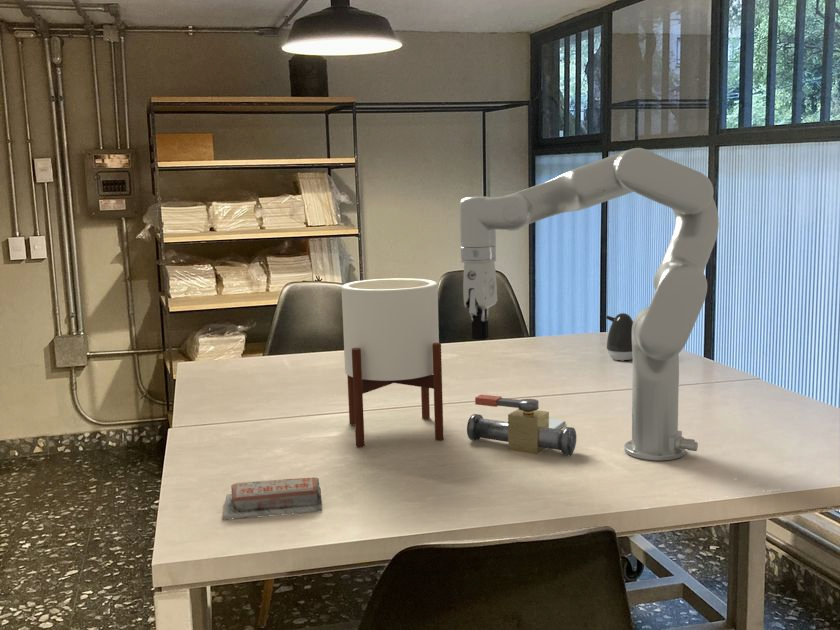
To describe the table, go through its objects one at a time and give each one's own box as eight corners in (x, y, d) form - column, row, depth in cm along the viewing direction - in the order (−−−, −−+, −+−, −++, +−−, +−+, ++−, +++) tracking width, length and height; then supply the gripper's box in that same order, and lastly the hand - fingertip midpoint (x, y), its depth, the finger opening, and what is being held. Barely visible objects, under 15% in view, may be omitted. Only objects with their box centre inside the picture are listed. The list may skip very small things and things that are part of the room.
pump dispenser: (604, 356, 282) (604, 310, 279) (637, 356, 280) (637, 310, 278) (607, 362, 272) (607, 315, 269) (640, 362, 270) (641, 315, 268)
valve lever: (541, 406, 188) (541, 399, 188) (534, 411, 184) (534, 404, 184) (482, 400, 195) (482, 393, 195) (474, 405, 191) (473, 398, 191)
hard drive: (534, 416, 210) (513, 429, 199) (565, 420, 206) (545, 434, 195) (534, 423, 210) (513, 436, 200) (565, 427, 206) (545, 441, 195)
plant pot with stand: (449, 441, 195) (445, 286, 190) (352, 449, 192) (345, 292, 186) (432, 415, 217) (428, 276, 212) (344, 422, 214) (338, 280, 208)
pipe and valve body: (576, 450, 186) (576, 411, 184) (565, 458, 181) (565, 418, 180) (479, 436, 199) (479, 399, 197) (467, 443, 194) (466, 405, 192)
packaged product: (319, 471, 165) (321, 489, 155) (320, 494, 166) (322, 514, 156) (224, 478, 162) (220, 497, 153) (226, 502, 163) (222, 522, 153)
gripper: (484, 258, 174) (486, 346, 177) (505, 251, 188) (506, 333, 191) (450, 258, 177) (452, 344, 180) (472, 251, 191) (474, 332, 193)
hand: (480, 338), depth 185 cm, fingers closed
